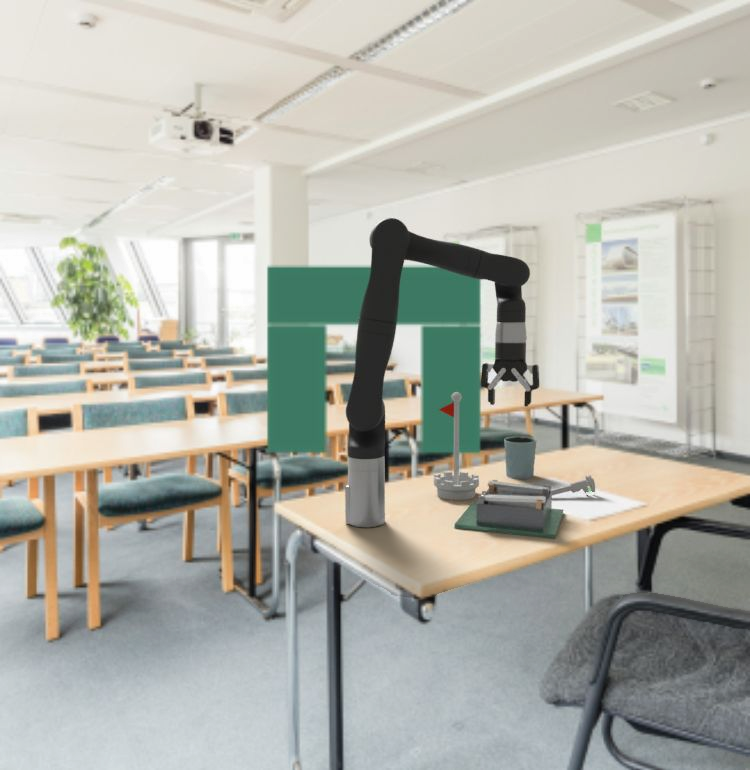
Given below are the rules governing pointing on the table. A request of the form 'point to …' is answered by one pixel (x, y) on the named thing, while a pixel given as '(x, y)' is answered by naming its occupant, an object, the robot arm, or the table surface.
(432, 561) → the table surface
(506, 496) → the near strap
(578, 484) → the caliper
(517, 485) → the far strap
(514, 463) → the blue-grey cup
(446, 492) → the flag stand
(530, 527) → the base
